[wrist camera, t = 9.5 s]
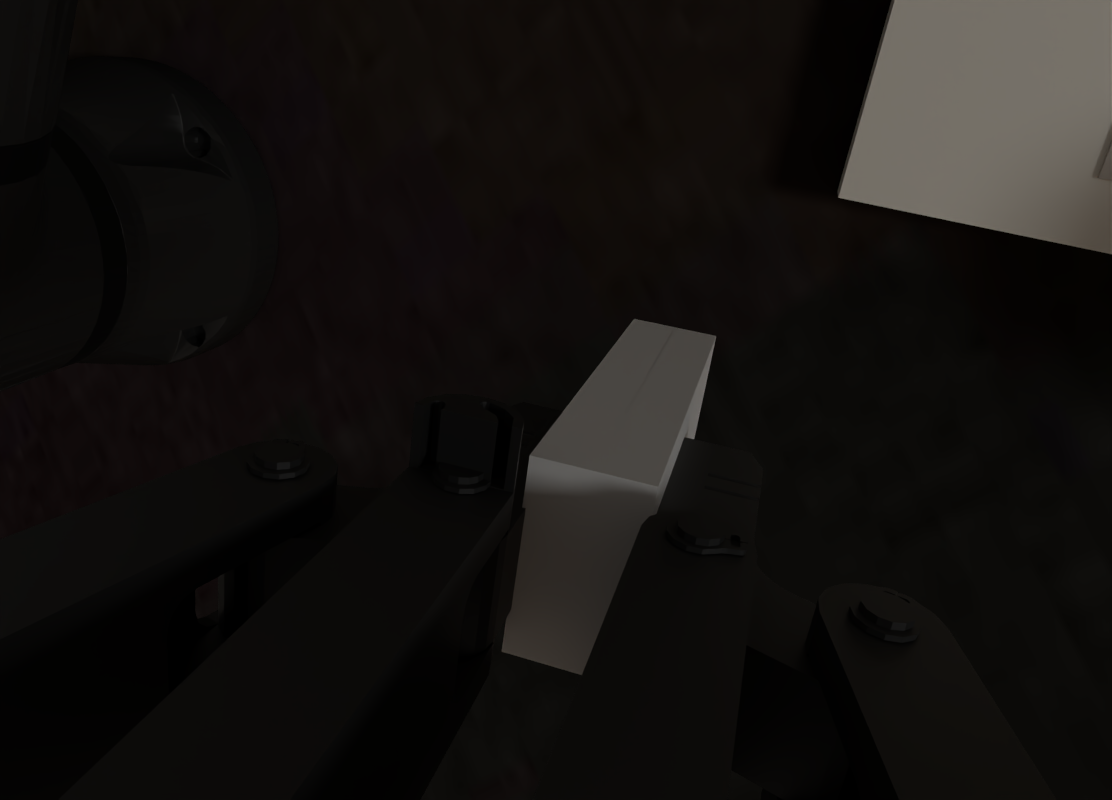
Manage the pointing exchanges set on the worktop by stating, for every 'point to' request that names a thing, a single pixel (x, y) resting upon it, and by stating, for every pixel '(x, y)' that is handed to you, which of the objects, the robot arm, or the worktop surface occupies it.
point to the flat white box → (991, 118)
